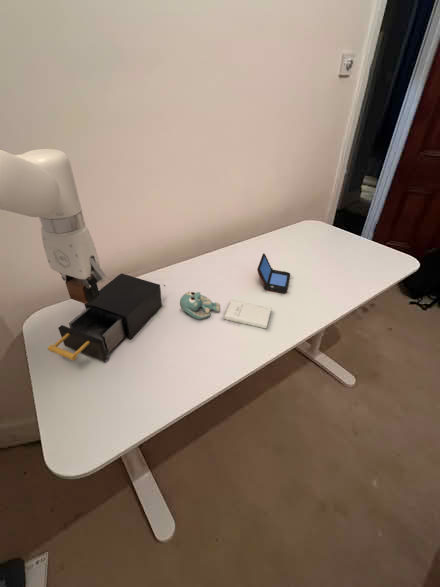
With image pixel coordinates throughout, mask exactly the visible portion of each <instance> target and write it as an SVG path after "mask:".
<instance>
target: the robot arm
mask: <svg viewBox="0 0 440 587" xmlns="http://www.w3.org/2000/svg"><path fill="white" fill-rule="evenodd" d="M0 210H1V211H6V212H11V213H14V214H19V215H22V216H27V217H31V218H39V222H40V224H41V226H40V234H41V240H42V246H43V249H44V254H45V256H46V259H47V263H48V265H49V267H50V269H51V270H52V271H55V272H57V273H59V274H60V276H61V279H62V280H63V281H64V282H65V284H66V282H68V281H69V280H71V279H72V278H74V277H75V278H78V279H82V280H83V282H84V284H85V286H86V287H85V288H84V290H85V294H86V297H87V300H88V302H92V301H93V300H95V299H96V298H97V297H98V296H99V290H100V289H99V287H98V283H99V282H101V281H102V280H103V279H105V278H106V277H107V275H106V273H105V272H104V271H103V269H102V268H101V264H100V260H99V256H98V252H97V248H96V246H95V242H94V240H93V238H92V235H91V232H90V229H88V226H86V221H85V216H84V213H83V209H82V206H81V201H80V197H79V192H78V189H77V184H76V181H75V177H74V172H73V168H72V164H71V161H70V158H69V156H68V155H67V153H65V152H63V151H62V150H59V149H55V148H40V149H32V150H28V151H26V152H24V153H22V154H12V153H10V152H8V151H5V150H3V149H0ZM89 276H91V278H92V279H91V280H90V281H89V279H88V277H89Z"/></svg>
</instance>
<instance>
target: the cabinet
mask: <svg viewBox="0 0 440 587" xmlns="http://www.w3.org/2000/svg"><path fill="white" fill-rule="evenodd" d="M98 290H99V296H98V297H97V298H96V299H95V300H93V301H92V302H88V303H87V304H84V307H85V308H84V309H87V308H88V307H89V306H91V307H93V308H96V309H99V310H102V311H105V312H108V313H111V314H114V315H117V316H119V317H122V318H125V323H126V328H127V333H128V334H127V335H126V336H125V337H124V339H128V340H132V339H133V338H134V337H136V335H137V334H138V333H139V332H140V331H141V330H142V329H143V327H145V325H147V324H148V322H149V321H150V320H152V318H153V317H154V316H155V315H156V314H157V312H158V311H160V310H161V308H162V307H163V300H162V294H161V293H162V292H161V290H162V289H161V284H159V283H155V282H153V281H149V280H147V279H142V278H139V277H135V276H132V275H128V274H125V273H122V272H120V273H119V274H118V275H116V277H114V278H113V279H112V280H110V281H109V282H108V283H106V284H105V285H104V286H102V287H101V288H100V289H98Z"/></svg>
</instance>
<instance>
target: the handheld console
mask: <svg viewBox="0 0 440 587" xmlns="http://www.w3.org/2000/svg"><path fill="white" fill-rule="evenodd" d="M261 255H262V256H261V258H260V261H259V264H258V265H257V273H258V276H259V277H260V279H261V281H262V283H263V286H264V288H263V289H264V291H270V292H275V293H280V294H286V293H288V290H289V284H290V278H291V273H290V272H289V271H283V270H276V269H274V268H272V266H271V264H270V262H269V259H268V258H267V256H266V253H264V252H263V253H262V254H261Z"/></svg>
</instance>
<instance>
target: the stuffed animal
mask: <svg viewBox="0 0 440 587" xmlns="http://www.w3.org/2000/svg"><path fill="white" fill-rule="evenodd" d="M179 306H180V309H181V310H182V311H183V312H185V313H186V314H188V315H189V316H190V317H192V318H194V319H198V320H203V319H206V318H209V317H210V316H211V313H210V311H211V310H213V311H214V312H219V311H220V310H221V308H220V306H221V305H220V302H213V301H211V299H210V298H209V297H207V296H206V295H203V294H201V292H200V291H197V292H195V291H186V293H184V294H183V295H182V296H181V297H180V299H179ZM199 308H201V309H203V311H199Z"/></svg>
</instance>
